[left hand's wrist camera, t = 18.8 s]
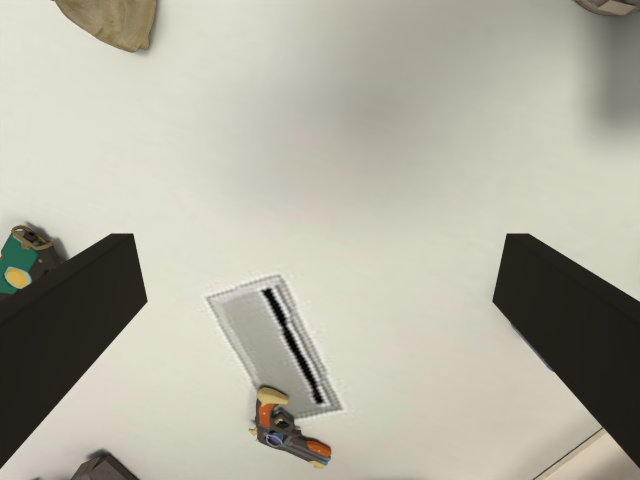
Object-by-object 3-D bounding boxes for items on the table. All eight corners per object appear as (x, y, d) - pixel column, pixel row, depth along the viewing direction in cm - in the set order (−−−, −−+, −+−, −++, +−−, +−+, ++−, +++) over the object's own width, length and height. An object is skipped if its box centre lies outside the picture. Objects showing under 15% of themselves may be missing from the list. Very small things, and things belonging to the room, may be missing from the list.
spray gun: (43, 344, 54) (-35, 270, 50) (117, 299, 50) (39, 214, 46) (19, 363, 50) (-67, 284, 46) (97, 316, 46) (10, 224, 42)
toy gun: (262, 392, 54) (227, 436, 55) (355, 437, 59) (321, 475, 61) (262, 380, 56) (229, 422, 58) (352, 424, 61) (319, 461, 63)
